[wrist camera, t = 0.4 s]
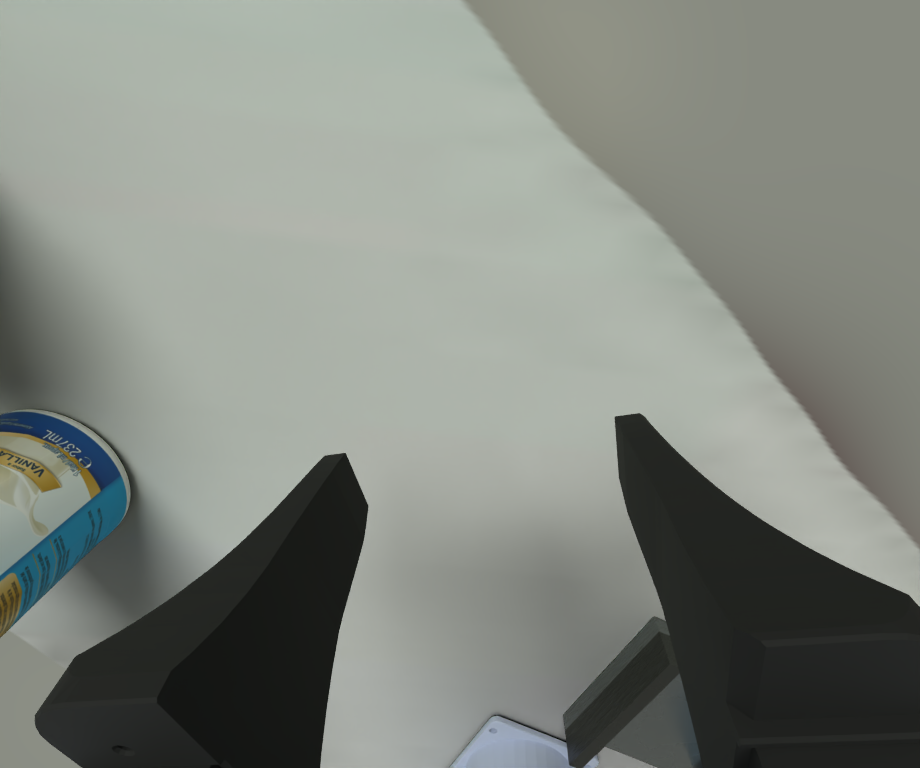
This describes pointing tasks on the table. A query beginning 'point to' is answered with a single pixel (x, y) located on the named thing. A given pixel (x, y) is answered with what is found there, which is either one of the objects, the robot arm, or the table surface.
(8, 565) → the beverage bottle
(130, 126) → the table surface
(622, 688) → the rail
